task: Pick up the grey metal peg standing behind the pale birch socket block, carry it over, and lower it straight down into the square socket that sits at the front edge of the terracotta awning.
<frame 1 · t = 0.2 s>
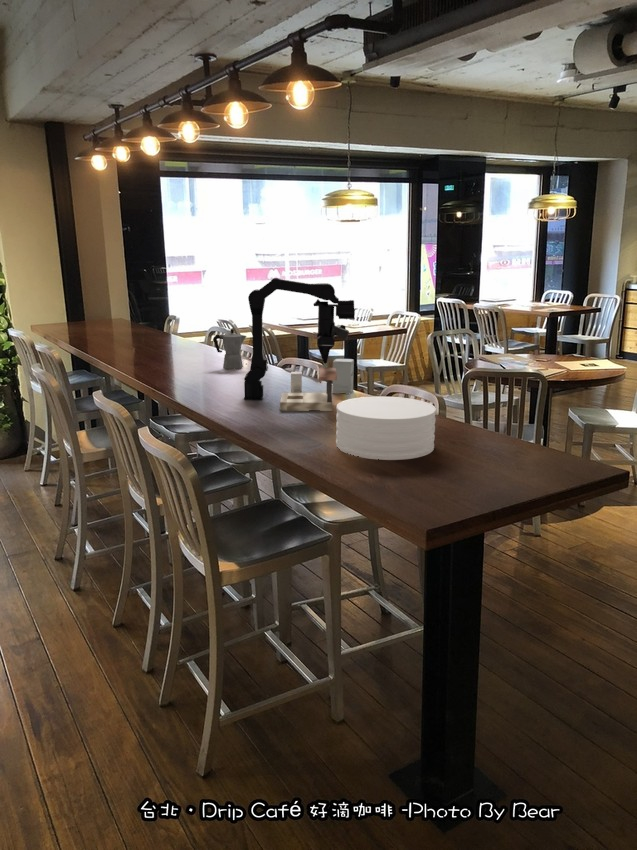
hand: (325, 361, 251), 14 cm above the table, tool pointing down, fingers open, 9 cm apart
socket block: (306, 405, 243), on the table
coffeepot: (230, 368, 316), on the table
supplement box: (342, 392, 266), on the table
plate stack: (384, 446, 196), on the table
peg: (296, 396, 258), on the table
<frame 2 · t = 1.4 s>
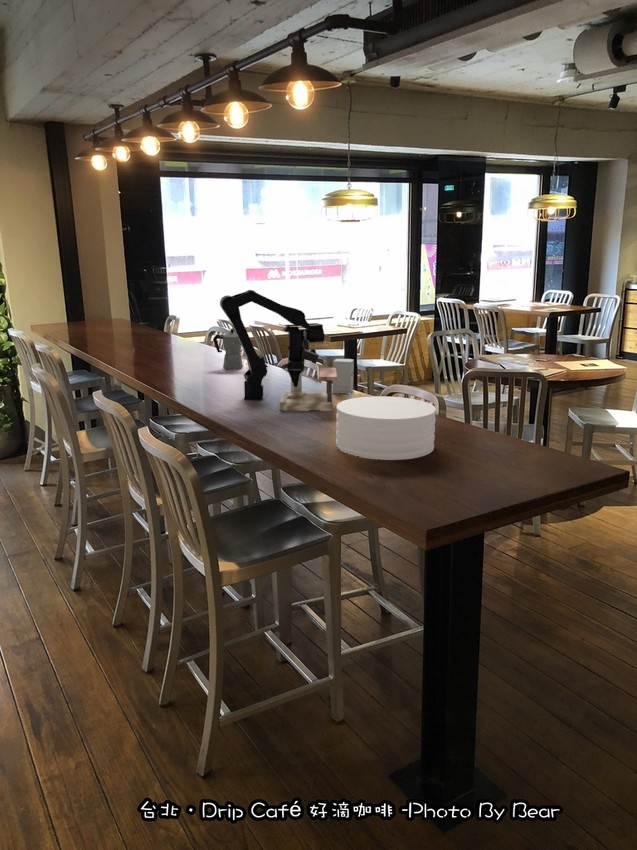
hand: (296, 384, 257), 4 cm above the table, tool pointing down, fingers open, 9 cm apart
nothing on the table moved.
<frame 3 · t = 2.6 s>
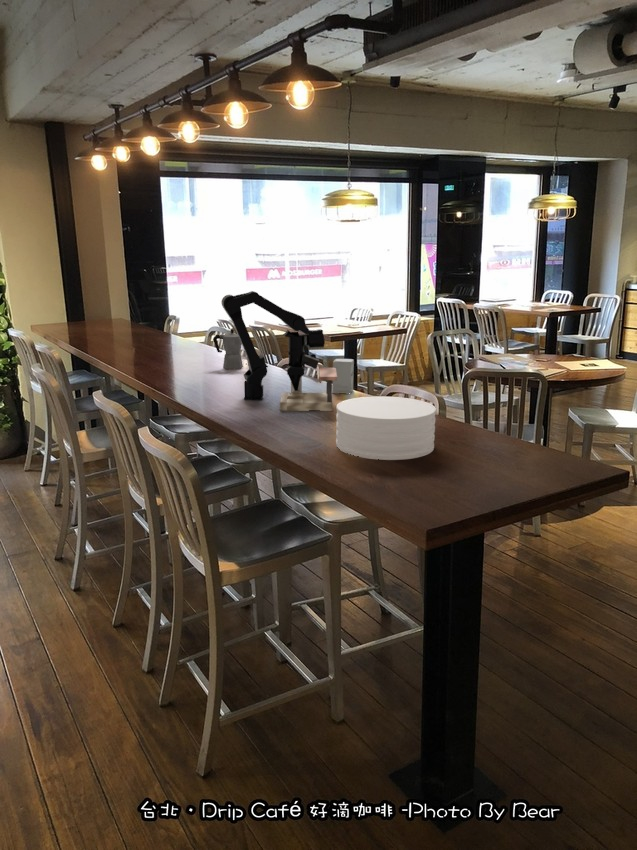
hand: (296, 389, 257), 3 cm above the table, tool pointing down, fingers closed on peg, 4 cm apart
peg: (296, 396, 258), on the table, touching gripper
everything else where it was.
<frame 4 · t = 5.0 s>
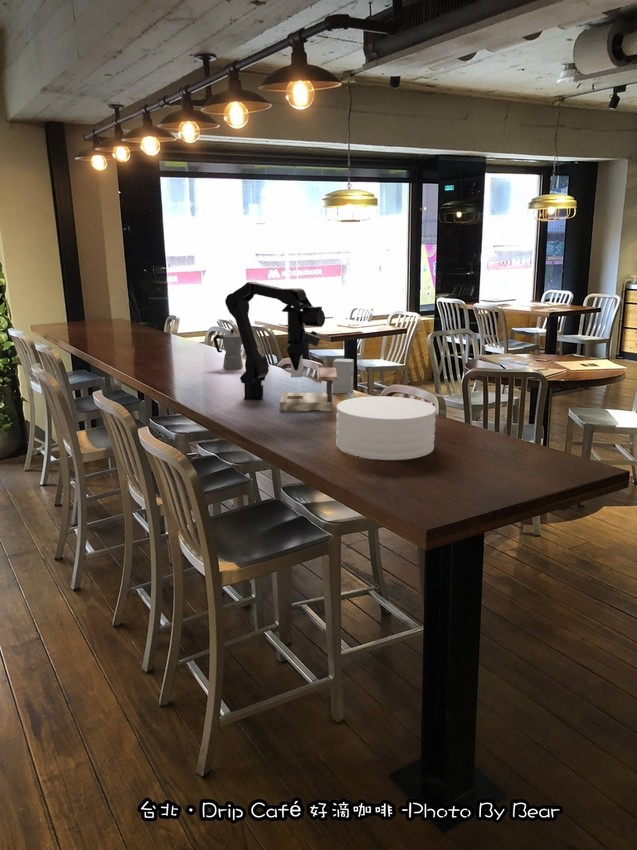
hand: (296, 369, 242), 13 cm above the table, tool pointing down, fingers closed on peg, 4 cm apart
peg: (296, 376, 243), point 10 cm above the table, touching gripper
everything else where it was.
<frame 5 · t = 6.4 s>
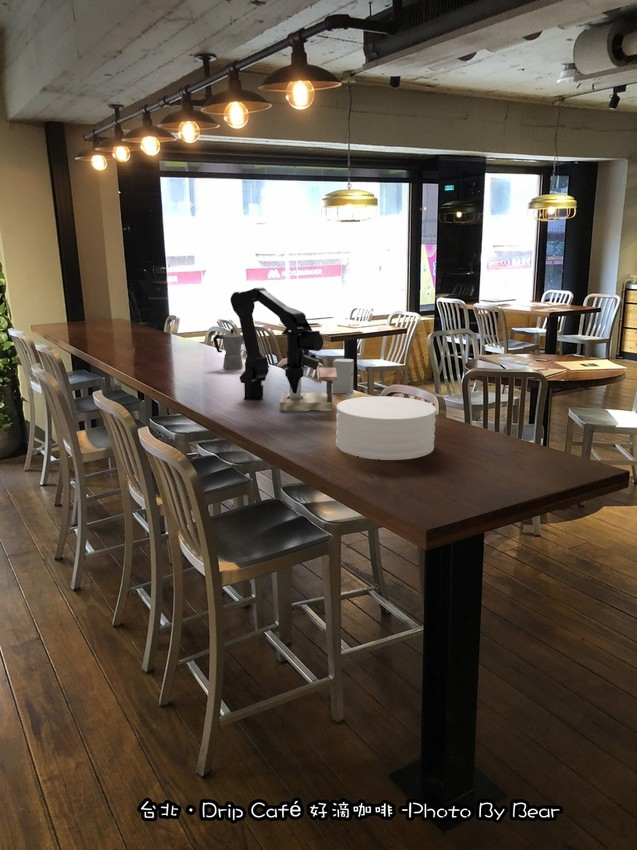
hand: (295, 392, 241), 5 cm above the table, tool pointing down, fingers closed on peg, 4 cm apart
peg: (295, 399, 242), point 2 cm above the table, touching gripper
everything else where it was.
when the fingers open (4 cm above the table, at t = 7.3 s): peg drops 1 cm, resting in socket block.
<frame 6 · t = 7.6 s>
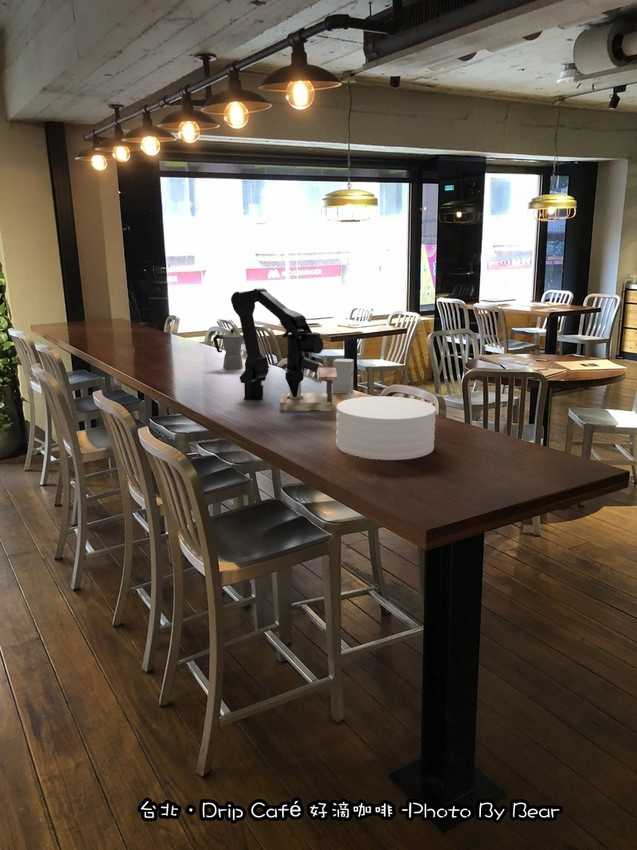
hand: (295, 394, 242), 4 cm above the table, tool pointing down, fingers open, 7 cm apart
peg: (295, 405, 243), resting in socket block
everything else where it was.
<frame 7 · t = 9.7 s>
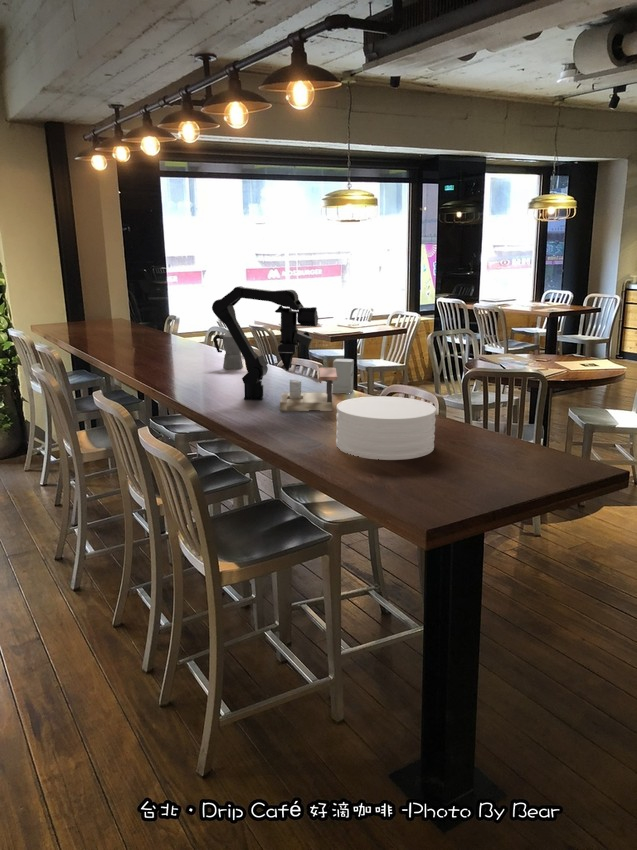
hand: (288, 368, 249), 12 cm above the table, tool pointing down, fingers open, 9 cm apart
nothing on the table moved.
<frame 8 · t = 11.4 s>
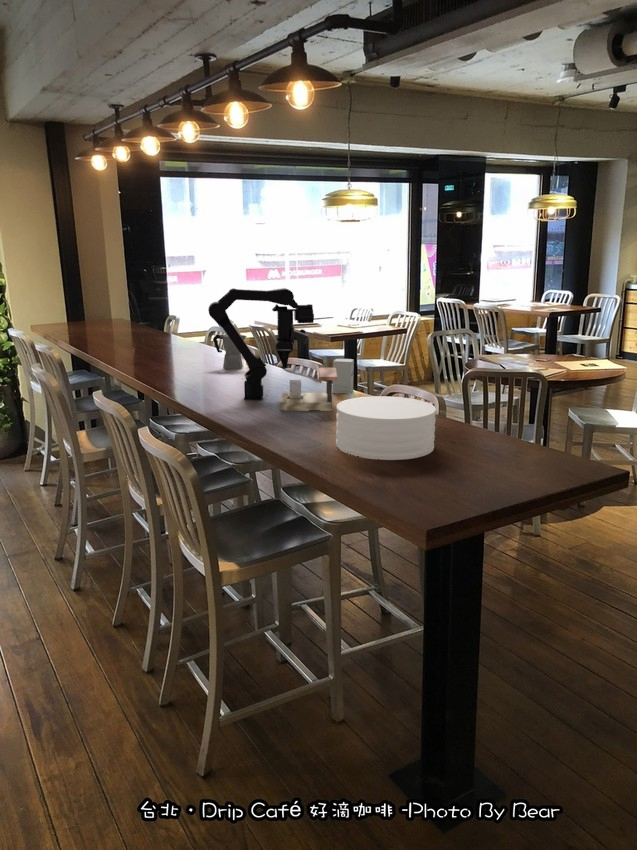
hand: (285, 365, 253), 12 cm above the table, tool pointing down, fingers open, 9 cm apart
nothing on the table moved.
at the end: peg 0.1 cm from the target spot on the socket block, point 0.0 cm above the socket block's base; peg tilted 0°; the gripper is holding nothing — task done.
